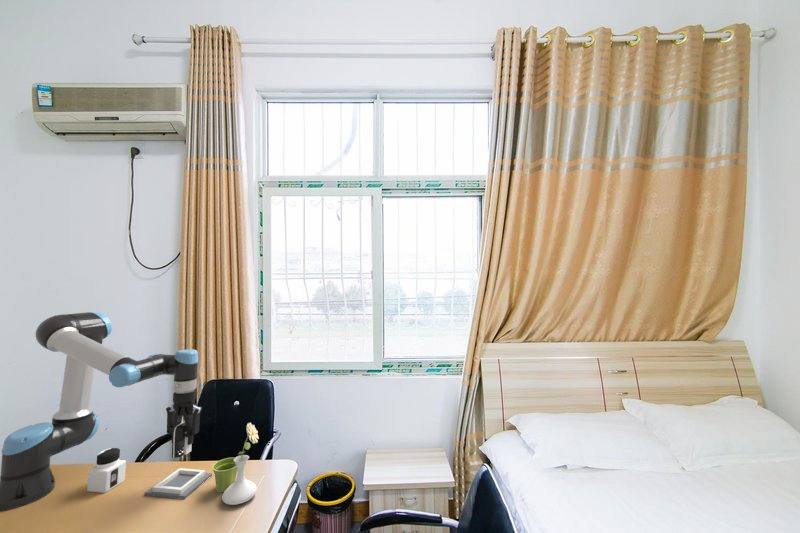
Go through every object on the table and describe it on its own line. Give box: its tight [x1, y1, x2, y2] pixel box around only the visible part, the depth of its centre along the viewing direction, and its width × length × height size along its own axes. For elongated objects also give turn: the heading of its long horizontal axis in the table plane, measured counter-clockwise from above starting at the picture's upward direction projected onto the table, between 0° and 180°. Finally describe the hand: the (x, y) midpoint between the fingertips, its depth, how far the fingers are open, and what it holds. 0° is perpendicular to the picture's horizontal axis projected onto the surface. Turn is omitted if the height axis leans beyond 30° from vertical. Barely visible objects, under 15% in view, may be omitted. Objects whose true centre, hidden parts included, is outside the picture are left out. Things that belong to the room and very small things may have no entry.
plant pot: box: [211, 457, 237, 493], centre depth 121 cm, size 9×9×9 cm
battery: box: [171, 420, 187, 459], centre depth 123 cm, size 7×4×11 cm, turn 1°
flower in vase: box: [221, 422, 260, 506], centre depth 117 cm, size 13×11×25 cm
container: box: [86, 447, 127, 494], centre depth 121 cm, size 8×8×13 cm
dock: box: [144, 467, 213, 500], centre depth 122 cm, size 16×14×2 cm
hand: (181, 452), depth 123 cm, fingers closed on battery, 4 cm apart
